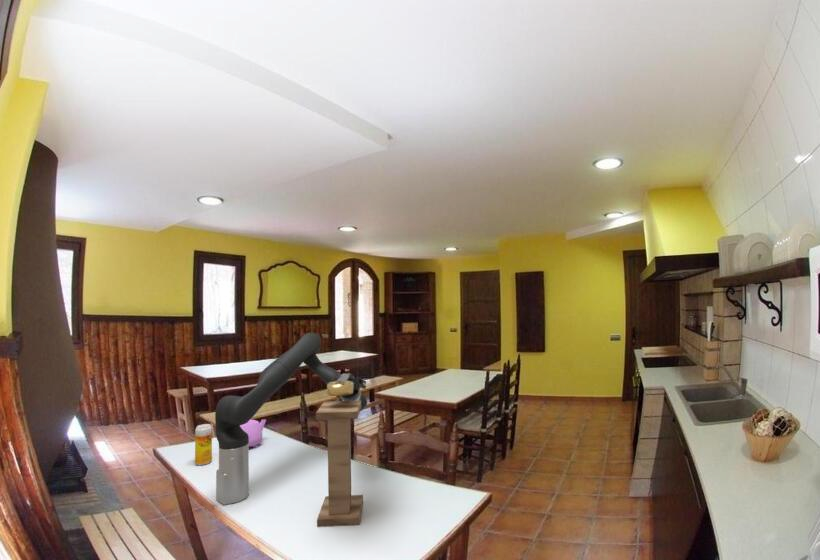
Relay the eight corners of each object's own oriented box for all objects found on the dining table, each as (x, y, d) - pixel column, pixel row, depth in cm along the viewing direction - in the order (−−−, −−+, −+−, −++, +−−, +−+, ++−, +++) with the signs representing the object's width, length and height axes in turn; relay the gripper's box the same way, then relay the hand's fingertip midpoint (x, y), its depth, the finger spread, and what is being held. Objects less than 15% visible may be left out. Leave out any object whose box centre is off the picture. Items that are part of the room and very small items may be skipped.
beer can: (204, 466, 162) (205, 428, 163) (191, 465, 163) (191, 427, 164) (215, 460, 168) (215, 423, 169) (202, 459, 169) (202, 423, 170)
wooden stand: (325, 502, 129) (324, 401, 131) (363, 501, 130) (361, 400, 132) (317, 526, 115) (315, 413, 117) (359, 524, 116) (357, 411, 118)
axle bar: (335, 382, 143) (335, 373, 143) (358, 381, 143) (357, 373, 143) (325, 396, 122) (324, 386, 122) (351, 395, 122) (351, 385, 122)
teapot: (230, 456, 172) (230, 426, 173) (217, 450, 180) (217, 421, 180) (272, 443, 187) (272, 415, 188) (258, 438, 195) (258, 411, 196)
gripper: (332, 383, 154) (324, 366, 139) (368, 382, 154) (365, 365, 140) (330, 402, 150) (323, 387, 135) (368, 401, 150) (365, 386, 136)
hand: (344, 376), depth 138 cm, fingers closed on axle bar, 3 cm apart
